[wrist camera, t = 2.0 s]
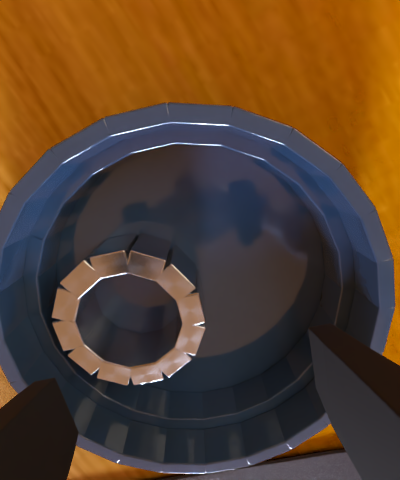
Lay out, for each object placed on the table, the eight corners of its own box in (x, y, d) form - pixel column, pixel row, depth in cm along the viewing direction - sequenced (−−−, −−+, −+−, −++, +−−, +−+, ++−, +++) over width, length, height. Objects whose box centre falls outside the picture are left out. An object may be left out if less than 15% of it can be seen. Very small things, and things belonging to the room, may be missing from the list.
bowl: (328, 80, 13) (387, 50, 9) (353, 374, 17) (400, 440, 13) (-14, 160, 13) (-100, 164, 9) (93, 423, 18) (64, 499, 14)
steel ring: (187, 221, 14) (185, 236, 11) (214, 335, 16) (217, 370, 13) (58, 248, 14) (28, 269, 12) (98, 358, 16) (80, 396, 13)
